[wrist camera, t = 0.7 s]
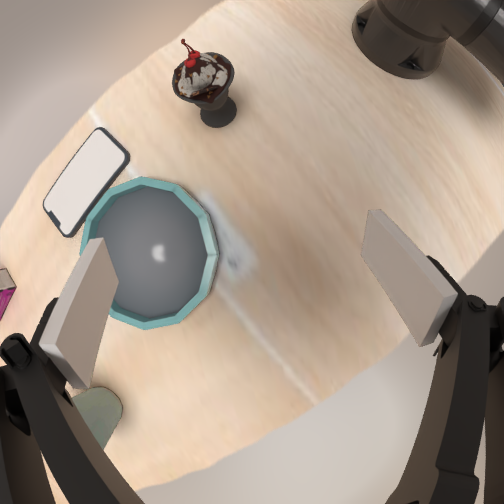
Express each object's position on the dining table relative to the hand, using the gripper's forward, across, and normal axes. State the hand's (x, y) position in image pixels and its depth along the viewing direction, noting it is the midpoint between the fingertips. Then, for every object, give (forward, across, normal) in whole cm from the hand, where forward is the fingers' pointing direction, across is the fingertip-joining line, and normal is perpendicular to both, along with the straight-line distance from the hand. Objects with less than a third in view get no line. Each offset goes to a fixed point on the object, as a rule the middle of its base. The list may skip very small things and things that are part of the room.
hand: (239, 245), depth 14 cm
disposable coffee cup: (+11, -24, -35) cm, 44 cm away
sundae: (+30, 0, +3) cm, 30 cm away
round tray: (+22, -11, -14) cm, 28 cm away
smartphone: (+29, -21, -5) cm, 37 cm away
